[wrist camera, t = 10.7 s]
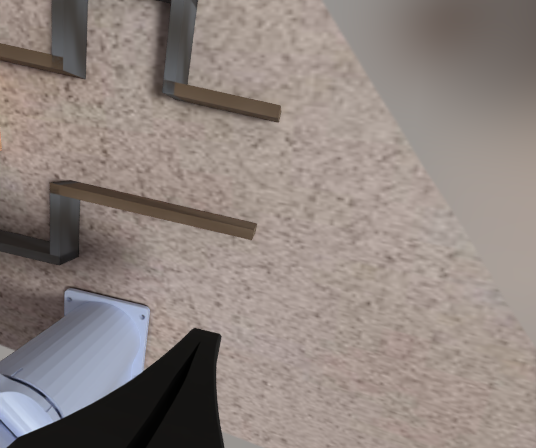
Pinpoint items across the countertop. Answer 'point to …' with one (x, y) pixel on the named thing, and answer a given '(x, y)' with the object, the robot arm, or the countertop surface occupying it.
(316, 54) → the countertop surface
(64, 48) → the box
